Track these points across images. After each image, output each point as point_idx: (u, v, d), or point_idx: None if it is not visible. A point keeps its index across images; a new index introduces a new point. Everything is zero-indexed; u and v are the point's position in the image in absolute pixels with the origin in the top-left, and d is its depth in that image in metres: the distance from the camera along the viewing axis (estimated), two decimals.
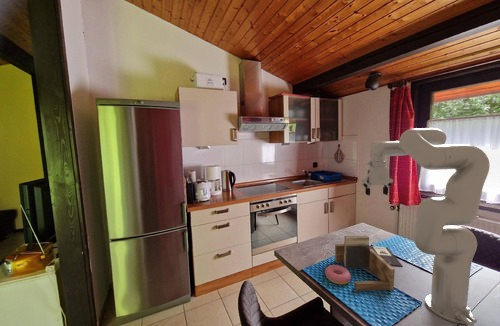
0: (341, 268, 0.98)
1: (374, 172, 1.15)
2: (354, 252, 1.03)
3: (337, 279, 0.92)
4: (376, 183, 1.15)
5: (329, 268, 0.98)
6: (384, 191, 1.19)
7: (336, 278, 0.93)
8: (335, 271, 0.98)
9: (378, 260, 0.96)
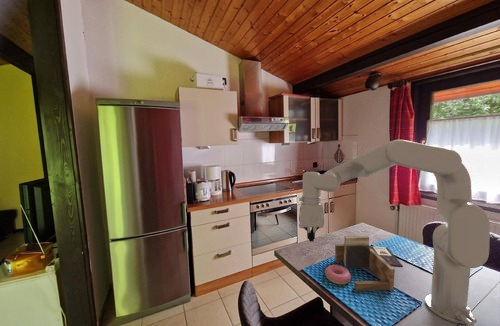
0: (341, 268, 0.98)
1: (305, 211, 0.91)
2: (354, 252, 1.03)
3: (337, 279, 0.92)
4: (308, 224, 0.91)
5: (329, 268, 0.98)
6: None
7: (336, 278, 0.93)
8: (335, 271, 0.99)
9: (378, 260, 0.96)
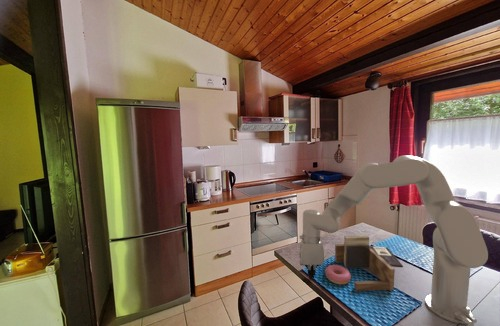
0: (341, 268, 0.98)
1: (305, 250, 0.93)
2: (354, 252, 1.03)
3: (337, 279, 0.92)
4: (308, 262, 0.93)
5: (329, 268, 0.98)
6: None
7: (336, 278, 0.93)
8: (335, 271, 0.99)
9: (378, 260, 0.96)
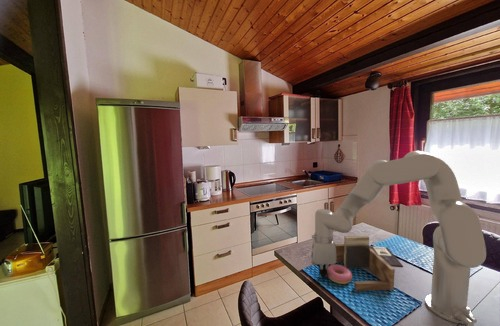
0: (342, 268, 0.98)
1: (318, 249, 0.93)
2: (354, 252, 1.03)
3: (338, 278, 0.92)
4: (321, 262, 0.93)
5: (330, 268, 0.98)
6: None
7: (337, 277, 0.93)
8: (336, 271, 0.99)
9: (378, 260, 0.96)
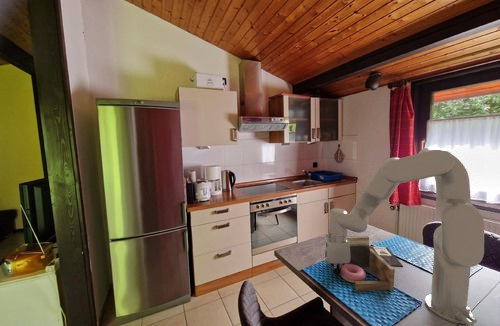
0: (355, 267, 0.99)
1: (332, 248, 0.93)
2: (354, 252, 1.03)
3: (352, 278, 0.92)
4: (335, 261, 0.93)
5: (343, 267, 0.98)
6: None
7: (351, 276, 0.93)
8: (349, 270, 0.99)
9: (378, 260, 0.96)
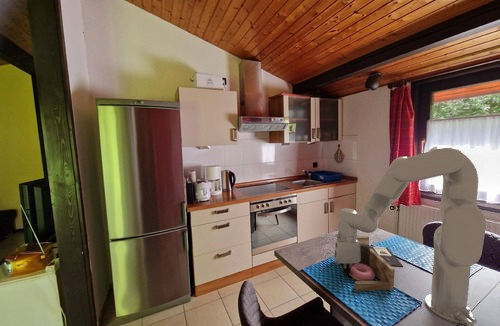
0: (364, 266, 0.99)
1: (342, 248, 0.93)
2: None
3: (362, 277, 0.93)
4: (345, 261, 0.93)
5: (352, 266, 0.99)
6: None
7: (361, 276, 0.93)
8: (358, 269, 0.99)
9: (378, 260, 0.96)
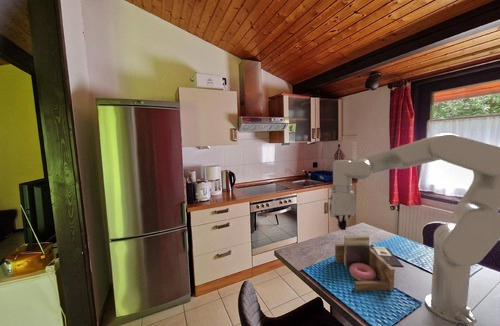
0: (365, 266, 0.99)
1: (337, 199, 0.91)
2: (354, 252, 1.03)
3: (363, 277, 0.93)
4: (340, 212, 0.91)
5: (353, 266, 0.99)
6: None
7: (362, 276, 0.93)
8: (359, 269, 0.99)
9: (378, 260, 0.96)
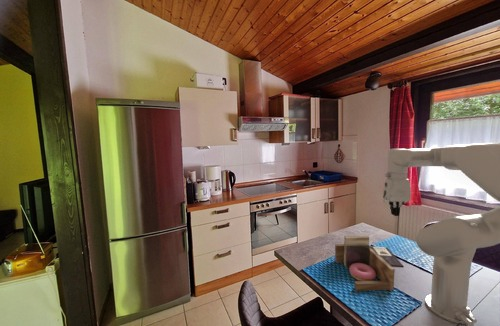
0: (365, 266, 0.99)
1: (393, 186, 0.94)
2: (354, 252, 1.03)
3: (363, 277, 0.93)
4: (396, 198, 0.95)
5: (353, 266, 0.99)
6: None
7: (362, 276, 0.94)
8: (359, 269, 0.99)
9: (378, 260, 0.96)
